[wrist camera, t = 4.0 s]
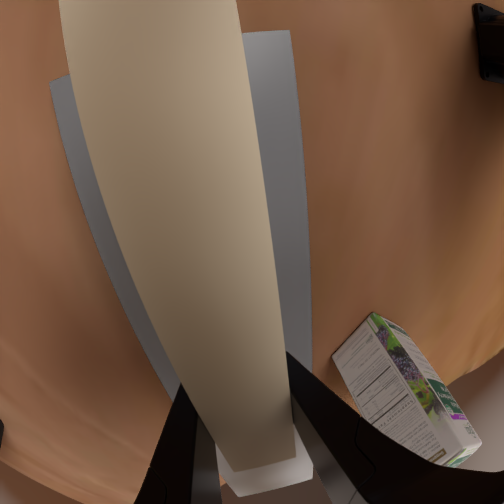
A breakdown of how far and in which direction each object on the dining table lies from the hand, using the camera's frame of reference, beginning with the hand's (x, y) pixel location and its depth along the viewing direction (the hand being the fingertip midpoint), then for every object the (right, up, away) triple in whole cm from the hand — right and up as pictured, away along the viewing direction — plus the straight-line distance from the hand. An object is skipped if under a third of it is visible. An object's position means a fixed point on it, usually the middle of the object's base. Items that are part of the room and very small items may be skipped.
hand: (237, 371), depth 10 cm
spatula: (0, -1, +2) cm, 2 cm away
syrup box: (+11, -5, +19) cm, 22 cm away
